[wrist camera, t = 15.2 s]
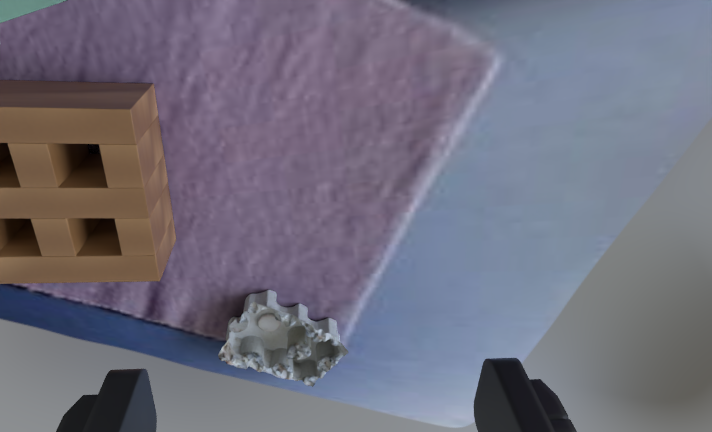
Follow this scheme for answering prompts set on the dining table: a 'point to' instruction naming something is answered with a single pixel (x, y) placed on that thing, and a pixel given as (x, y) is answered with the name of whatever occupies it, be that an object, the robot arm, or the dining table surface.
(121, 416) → the robot arm
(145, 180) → the holder
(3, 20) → the green bar with cap
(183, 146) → the dining table surface
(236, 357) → the egg carton
